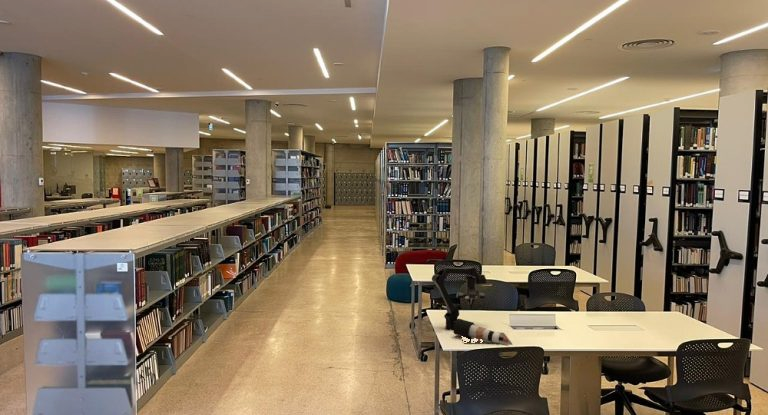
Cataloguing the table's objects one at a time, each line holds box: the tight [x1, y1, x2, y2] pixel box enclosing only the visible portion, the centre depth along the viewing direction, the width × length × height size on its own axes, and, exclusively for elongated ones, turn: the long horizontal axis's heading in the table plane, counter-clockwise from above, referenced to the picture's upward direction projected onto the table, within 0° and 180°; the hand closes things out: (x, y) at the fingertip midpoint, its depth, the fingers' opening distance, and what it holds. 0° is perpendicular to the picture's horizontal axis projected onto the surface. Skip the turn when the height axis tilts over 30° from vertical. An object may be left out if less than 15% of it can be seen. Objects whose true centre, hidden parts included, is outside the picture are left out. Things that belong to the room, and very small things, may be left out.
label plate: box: [463, 331, 513, 346], centre depth 340 cm, size 30×26×1 cm
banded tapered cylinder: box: [452, 318, 509, 343], centre depth 335 cm, size 10×34×10 cm, turn 57°
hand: (470, 308), depth 366 cm, fingers closed
